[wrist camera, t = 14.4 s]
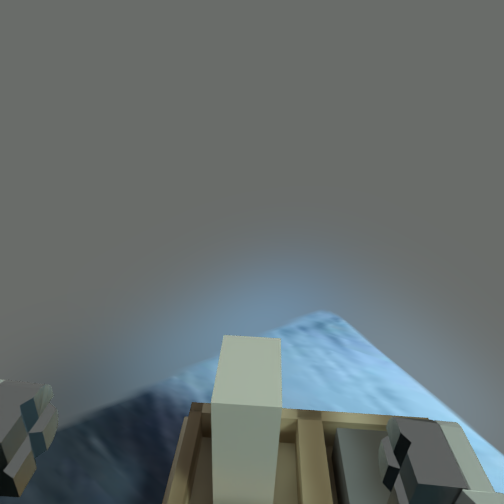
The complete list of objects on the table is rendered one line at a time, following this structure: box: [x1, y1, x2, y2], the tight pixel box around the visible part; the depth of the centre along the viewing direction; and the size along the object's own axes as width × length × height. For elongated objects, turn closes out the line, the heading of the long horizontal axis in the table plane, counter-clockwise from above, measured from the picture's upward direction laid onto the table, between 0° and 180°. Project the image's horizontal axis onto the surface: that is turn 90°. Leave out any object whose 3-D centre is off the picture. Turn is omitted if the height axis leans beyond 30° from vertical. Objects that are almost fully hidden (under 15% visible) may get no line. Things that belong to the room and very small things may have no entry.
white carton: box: [211, 335, 282, 504], centre depth 27 cm, size 4×6×12 cm
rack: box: [162, 402, 429, 504], centre depth 29 cm, size 22×12×5 cm, turn 87°
